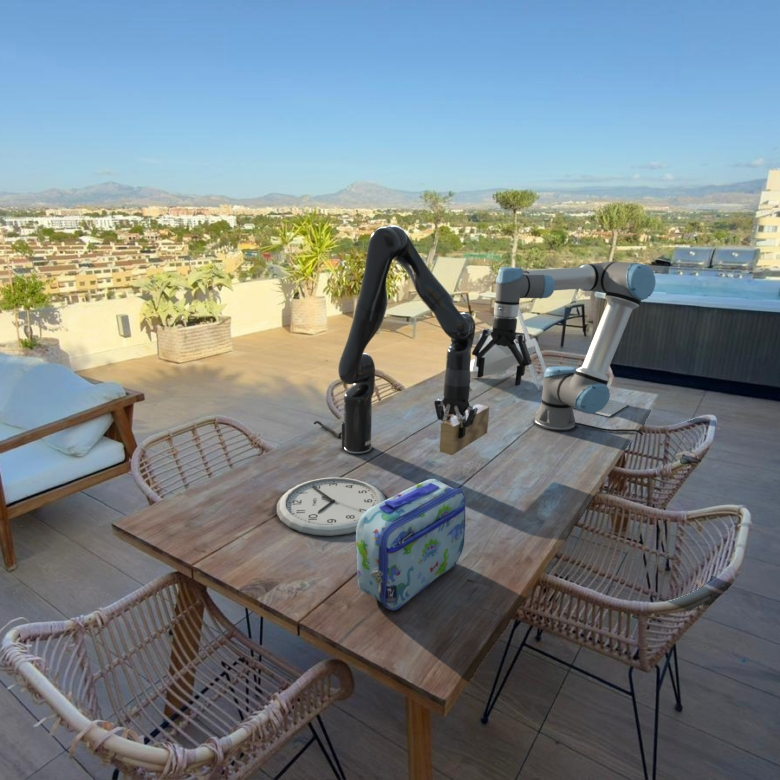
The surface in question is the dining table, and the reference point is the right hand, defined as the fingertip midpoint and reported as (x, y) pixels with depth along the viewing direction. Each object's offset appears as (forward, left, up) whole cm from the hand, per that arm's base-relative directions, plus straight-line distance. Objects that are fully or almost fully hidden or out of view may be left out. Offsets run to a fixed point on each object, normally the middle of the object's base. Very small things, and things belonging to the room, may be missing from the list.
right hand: (498, 381), depth 173 cm
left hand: (+14, +21, -12) cm, 28 cm away
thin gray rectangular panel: (-50, -54, -25) cm, 78 cm away
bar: (+10, +15, -16) cm, 24 cm away
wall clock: (+46, +45, -25) cm, 69 cm away
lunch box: (+22, +74, -25) cm, 81 cm away
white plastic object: (-11, -82, -25) cm, 86 cm away
